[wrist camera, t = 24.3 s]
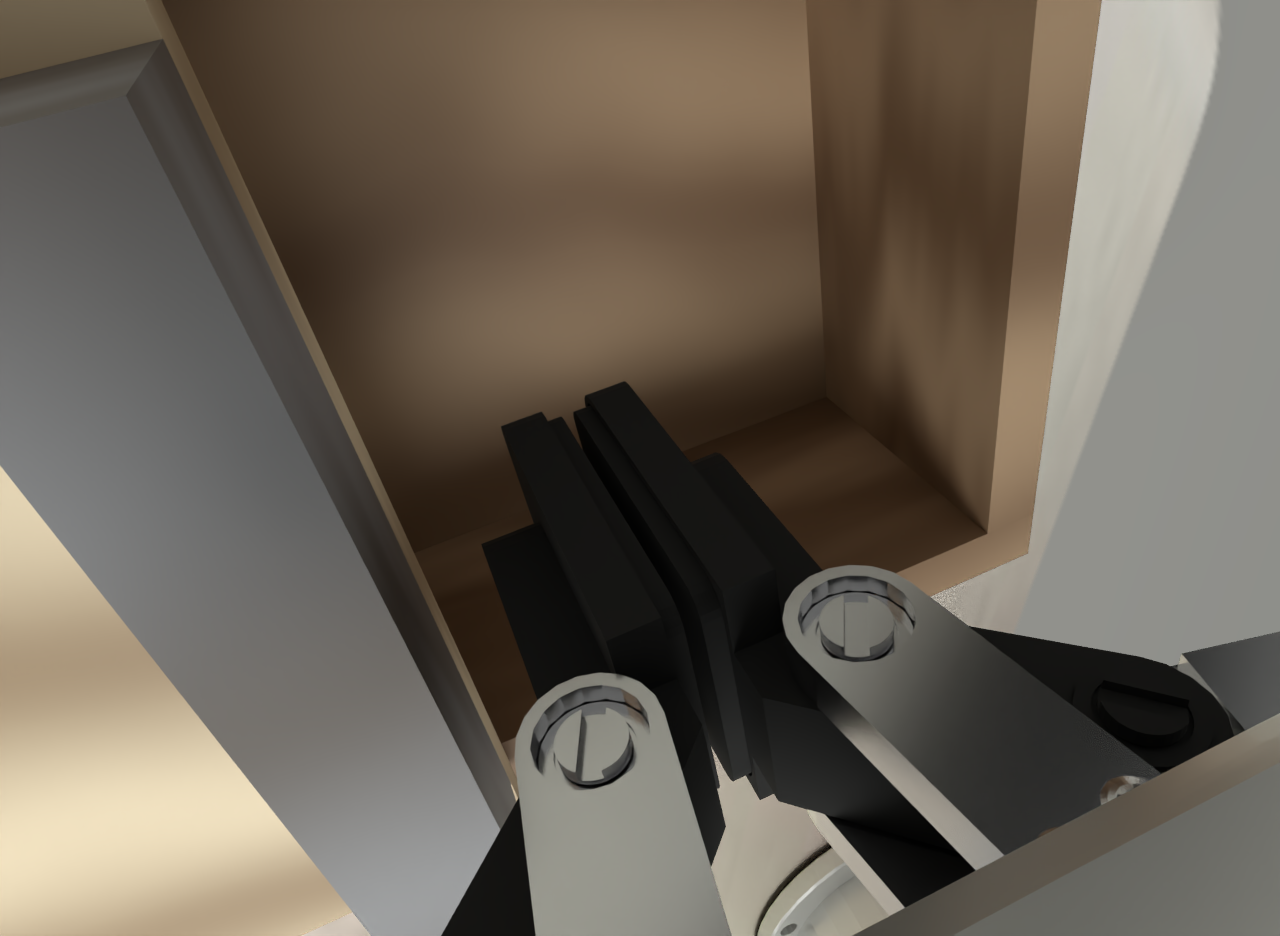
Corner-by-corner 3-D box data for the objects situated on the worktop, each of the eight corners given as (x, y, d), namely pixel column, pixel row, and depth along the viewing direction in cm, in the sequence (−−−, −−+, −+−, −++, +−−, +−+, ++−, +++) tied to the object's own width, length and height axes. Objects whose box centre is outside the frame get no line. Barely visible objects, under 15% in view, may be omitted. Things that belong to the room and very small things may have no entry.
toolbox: (845, 401, 26) (1027, 553, 20) (319, 603, 23) (344, 854, 17) (819, -301, 16) (1157, -422, 10) (-95, -117, 13) (-387, -136, 7)
